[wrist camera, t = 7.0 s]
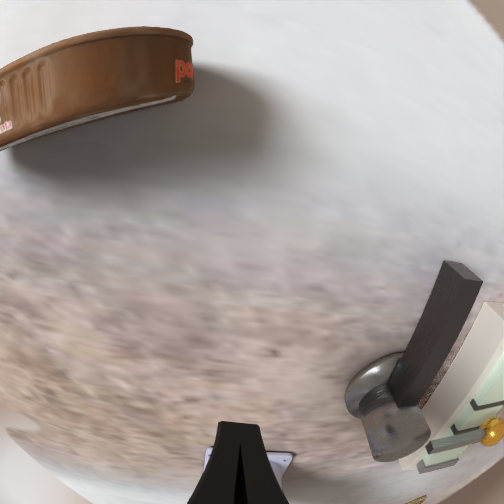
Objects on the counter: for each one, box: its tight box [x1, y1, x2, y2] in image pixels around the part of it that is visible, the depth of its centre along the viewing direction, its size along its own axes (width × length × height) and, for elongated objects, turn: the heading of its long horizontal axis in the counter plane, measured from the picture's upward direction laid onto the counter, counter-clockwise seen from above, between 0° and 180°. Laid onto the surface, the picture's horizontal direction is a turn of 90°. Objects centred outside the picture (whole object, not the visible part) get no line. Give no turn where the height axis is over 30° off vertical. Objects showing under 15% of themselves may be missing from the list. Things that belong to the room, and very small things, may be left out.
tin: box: [0, 26, 194, 151], centre depth 10 cm, size 15×3×8 cm, turn 95°
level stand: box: [399, 301, 504, 474], centre depth 21 cm, size 18×7×5 cm, turn 171°
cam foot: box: [345, 261, 504, 462], centre depth 17 cm, size 14×14×7 cm
